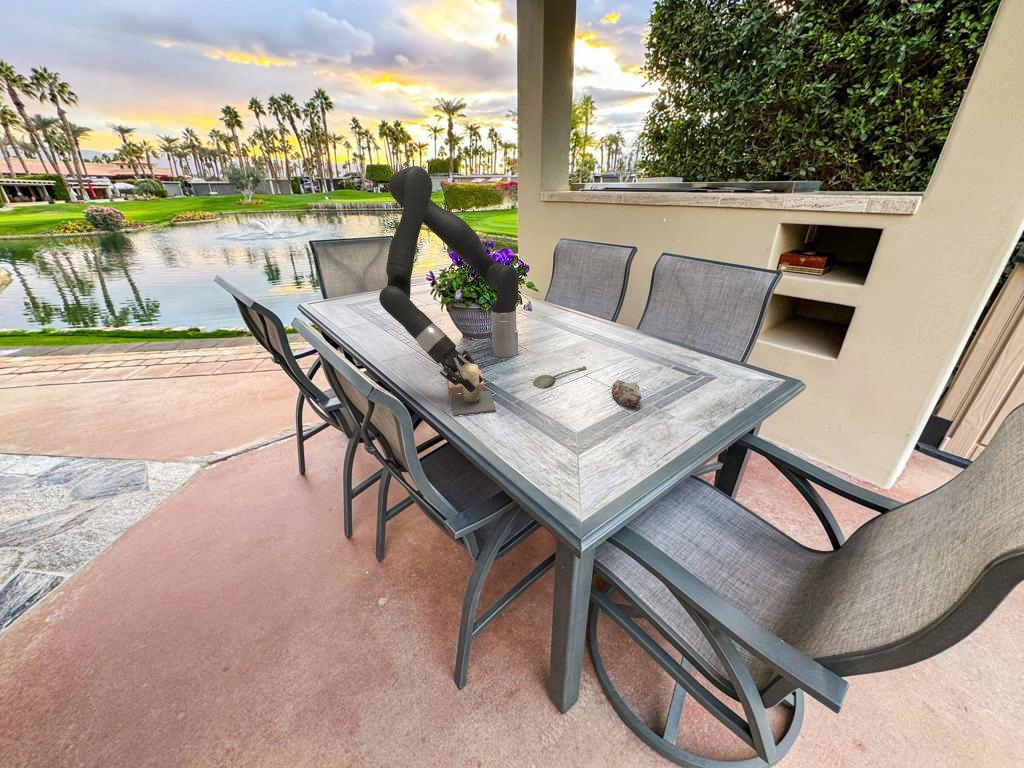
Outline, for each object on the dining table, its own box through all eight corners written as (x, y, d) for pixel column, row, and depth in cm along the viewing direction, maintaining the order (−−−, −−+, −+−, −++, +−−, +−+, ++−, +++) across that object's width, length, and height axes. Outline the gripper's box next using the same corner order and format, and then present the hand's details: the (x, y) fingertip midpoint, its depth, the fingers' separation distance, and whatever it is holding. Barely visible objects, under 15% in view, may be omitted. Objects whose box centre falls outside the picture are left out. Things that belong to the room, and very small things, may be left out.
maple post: (479, 393, 119) (477, 362, 114) (481, 400, 115) (479, 369, 110) (463, 394, 118) (460, 364, 114) (464, 402, 114) (461, 371, 109)
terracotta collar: (480, 375, 134) (480, 369, 133) (484, 390, 125) (484, 383, 124) (448, 379, 133) (447, 372, 132) (449, 394, 123) (449, 387, 122)
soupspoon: (528, 385, 130) (540, 394, 125) (528, 376, 128) (540, 385, 123) (579, 366, 140) (591, 374, 135) (579, 358, 138) (592, 365, 133)
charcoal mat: (490, 392, 124) (490, 390, 123) (495, 411, 113) (495, 409, 113) (451, 396, 122) (451, 394, 121) (454, 416, 111) (453, 414, 111)
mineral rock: (610, 386, 126) (611, 373, 124) (636, 387, 124) (637, 375, 122) (612, 410, 113) (613, 396, 111) (641, 412, 111) (643, 398, 109)
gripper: (430, 344, 104) (475, 390, 106) (454, 327, 116) (494, 369, 118) (415, 360, 108) (459, 404, 110) (440, 342, 120) (479, 382, 122)
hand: (477, 386), depth 114 cm, fingers closed on maple post, 4 cm apart
